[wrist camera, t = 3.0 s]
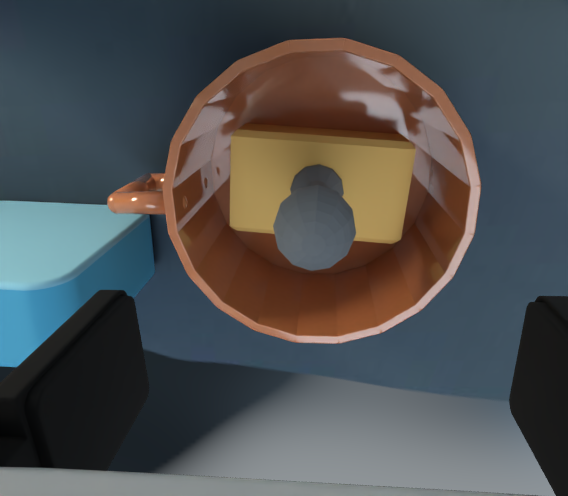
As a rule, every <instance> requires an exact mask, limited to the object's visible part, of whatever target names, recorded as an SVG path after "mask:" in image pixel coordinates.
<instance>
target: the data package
mask: <svg viewBox="0 0 568 496" xmlns="http://www.w3.org/2000/svg"><path fill="white" fill-rule="evenodd" d="M154 273H155V265H154V255H153V245H152V235H151V225H150V215H149V214H115V213H113V212H111V211H110V209H109V208H108V206H107V205H97V204H74V203H50V202H27V201H0V366H4V367H18V366H19V365H20V364H21V363H22V362H23V361H24V360H25V359H26V358H27V357H28V356H29V355H30V354H31V353H32V352H34V351H35V350H36V349H37V348H38V347H39V346H40V345H41V344H42V343H43V342H44V341H45V340H46V339H47V338H48V337H50V336H51V335H52V334H53V333H54V332H55V331H56V330H57V329H58V328H59V327H60V326H61V325H62V324H63V323H64V322H66V321H67V320H68V319H69V318H70V317H71V316H72V315H73V314H74V313H75V312H76V311H77V310H78V309H79V308H80V307H82V306H83V305H84V304H85V303H86V302H87V301H88V300H89V299H90V298H91V297H92V296H93V295H94V294H95V293H96V292H98V291H99V290H124V291H125V292H126V293H127V295H128V296H132V297H133V299H134V298H135V296H136V295H137V294H138V293H139V292H140V290H141V289H142V288H143V287H144V286H145V284H146V283H147V282H148V281H149V280H150V279H151V277H152V276H153V275H154Z"/></svg>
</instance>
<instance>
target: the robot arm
mask: <svg viewBox="0 0 568 496" xmlns="http://www.w3.org/2000/svg"><path fill="white" fill-rule="evenodd" d="M148 393H149V382H148V377H147V370H146V365H145V359H144V353H143V348H142V342H141V336H140V330H139V325H138V319H137V313H136V308H135V302H134V299H133V297H132V296H128V295H127V293H126V292H125V291H124V290H99V291H98V292H96V293H95V294H94V295H93V296H92V297H91V298H90V299H89V300H88V301H87V302H86V303H85V304H84V305H83V306H82V307H80V308H79V309H78V310H77V311H76V312H75V313H74V314H73V315H72V316H71V317H70V318H69V319H68V320H67V321H66V322H64V323H63V324H62V325H61V326H60V327H59V328H58V329H57V330H56V331H55V332H54V333H53V334H52V335H51V336H50V337H48V338H47V339H46V340H45V341H44V342H43V343H42V344H41V345H40V346H39V347H38V348H37V349H36V350H35V351H34V352H32V353H31V354H30V355H29V356H28V357H27V358H26V359H25V360H24V361H23V362H22V363H21V364H20V365H19V366H18V367H17V368H16V369H14V371H12V372H11V373H10V374H9V375H8V376H7V377H6V378H5V379H4V380H3V381H2V382H1V383H0V496H536V495H519V494H504V493H488V492H472V491H456V490H438V489H420V488H402V487H385V486H367V485H350V484H349V485H348V484H332V483H314V482H296V481H280V480H262V479H244V478H227V477H226V478H225V477H210V476H193V475H175V474H154V473H136V472H116V471H107V469H108V468H109V466H110V464H111V462H112V460H113V459H114V457H115V455H116V453H117V452H118V450H119V448H120V446H121V444H122V443H123V441H124V439H125V437H126V435H127V434H128V432H129V430H130V428H131V427H132V425H133V423H134V421H135V419H136V418H137V416H138V414H139V412H140V410H141V409H142V407H143V405H144V403H145V401H146V399H147V397H148ZM509 403H510V409H511V413H512V415H513V417H514V419H515V421H516V423H517V424H518V426H519V428H520V430H521V432H522V434H523V435H524V437H525V439H526V441H527V443H528V444H529V447H530V448H531V450H532V452H533V453H534V456H535V458H536V459H537V461H538V463H539V465H540V467H541V469H542V471H543V472H544V474H545V476H546V478H547V480H548V482H549V484H550V485H551V487H552V489H553V491H554V493H555V495H556V496H568V296H539V297H537V299H536V300H535V302H530V303H529V304H528V306H527V309H526V314H525V319H524V324H523V329H522V335H521V340H520V345H519V350H518V356H517V361H516V366H515V372H514V377H513V382H512V387H511V393H510V399H509Z"/></svg>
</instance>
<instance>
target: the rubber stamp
mask: <svg viewBox="0 0 568 496" xmlns="http://www.w3.org/2000/svg"><path fill="white" fill-rule="evenodd" d="M415 153H416V148H415V147H414V146H413V144H412V143H411V142H410V141H409V140H408V139H407V138H405V137H404V136H403V135H402V134H390V133H376V132H362V131H348V130H334V129H320V128H306V127H292V126H279V125H265V124H251V123H246V124H244V125H243V126H241V127H240V128H238V129H237V130H236V131H235V132H234V133H233V134H232V135H231V159H230V226H231V227H232V228H233V229H235V230H238V231H248V232H259V233H271V234H275V238H276V242H277V247H278V249H279V250H280V252H281V253H282V254H283V255H284V256H285V257H286V258H287V259H288V260H289V261H290V262H291V263H292V264H293V265H295V266H298V267H301V268H304V269H307V270H310V271H313V270H320V269H327V268H330V267H332V266H333V265H334V264H336V263H337V262H338V261H340V260H341V259H342V258H344V257H345V256H346V255H347V254H348V252H349V250H350V247H351V245H352V243H353V241H365V242H376V243H388V244H393V243H395V242H397V241H399V240H401V236H402V230H403V224H404V218H405V212H406V206H407V200H408V195H409V189H410V183H411V177H412V171H413V165H414V159H415Z"/></svg>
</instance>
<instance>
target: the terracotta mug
mask: <svg viewBox="0 0 568 496" xmlns="http://www.w3.org/2000/svg"><path fill="white" fill-rule="evenodd" d="M246 123H251V124H265V125H279V126H292V127H306V128H320V129H334V130H348V131H362V132H376V133H390V134H402V135H403V136H404V137H405V138H407V139H408V140H409V141H410V142H411V143H412V144H413V146H414V147H415V148H416V153H415V159H414V165H413V171H412V177H411V183H410V189H409V195H408V200H407V206H406V212H405V218H404V224H403V230H402V236H401V240H399V241H397V242H395V243H393V244H388V243H376V242H365V241H353V243H352V245H351V247H350V250H349V252H348V254H347V255H346V256H345V257H344V258H342V259H341V260H340V261H338V262H337V263H336V264H334V265H333V266H332V267H330V268H327V269H320V270H313V271H310V270H307V269H304V268H301V267H298V266H295V265H293V264H292V263H291V262H290V261H289V260H288V259H287V258H286V257H285V256H284V255H283V254H282V253H281V252H280V250H279V249H278V247H277V242H276V238H275V234H271V233H259V232H248V231H238V230H235V229H233V228H232V227H231V226H230V159H231V135H232V134H233V133H234V132H235V131H236V130H237V129H238V128H240V127H241V126H243V125H244V124H246ZM480 193H481V180H480V175H479V170H478V165H477V160H476V155H475V151H474V146H473V141H472V136H471V134H470V132H469V130H468V129H467V127H466V125H465V124H464V122H463V121H462V119H461V117H460V116H459V114H458V113H457V111H456V109H455V108H454V106H453V104H452V103H451V101H450V100H449V98H448V96H447V95H446V93H445V91H444V90H442V88H441V87H440V86H438V85H437V84H436V83H435V82H433V81H432V80H431V79H429V78H428V77H427V76H426V75H424V74H423V73H422V72H420V71H419V70H418V69H417V68H415V67H414V66H413V65H411V64H410V63H409V62H408V61H406V60H405V59H404V58H402V57H401V56H399V55H398V54H395V53H392V52H388V51H385V50H382V49H379V48H376V47H373V46H370V45H367V44H363V43H360V42H357V41H354V40H351V39H348V38H322V39H297V40H286V41H284V42H281V43H279V44H276V45H274V46H271V47H269V48H266V49H264V50H261V51H259V52H256V53H254V54H252V55H249V56H247V57H244V58H242V59H239V60H237V61H235V62H234V63H233V64H232V65H231V66H230V67H228V68H227V69H226V70H225V71H224V72H223V73H222V74H220V75H219V76H218V77H217V78H216V79H215V80H214V81H213V82H211V83H210V84H209V85H208V86H207V87H206V88H205V89H203V90H202V91H201V92H200V93H199V94H198V95H197V97H195V99H194V101H193V102H192V104H191V106H190V108H189V110H188V111H187V113H186V115H185V117H184V118H183V120H182V122H181V124H180V125H179V127H178V129H177V131H176V133H175V134H174V136H173V138H172V141H171V144H170V149H169V154H168V160H167V165H166V170H165V173H147V174H145V175H143V176H141V177H140V178H138V179H136V180H134V181H133V182H131V183H129V184H127V185H126V186H124V187H122V188H120V189H119V190H117V191H115V192H113V193H112V194H111V195H110V196H109V197H108V199H107V206H108V208H109V209H110V211H111V212H113V213H115V214H166V220H167V228H168V234H169V236H170V238H171V241H172V243H173V245H174V247H175V249H176V251H177V253H178V255H179V258H180V260H181V262H182V264H183V266H184V268H185V270H186V272H187V274H188V276H189V277H190V278H191V279H192V280H193V281H194V283H195V284H196V285H197V286H198V287H199V288H200V289H201V290H202V291H203V293H204V294H205V295H206V296H207V297H208V298H209V299H210V300H211V301H212V303H213V304H214V305H215V306H216V307H217V308H219V309H220V310H222V311H224V312H225V313H227V314H228V315H230V316H232V317H233V318H235V319H236V320H238V321H240V322H241V323H243V324H244V325H246V326H247V327H249V328H251V329H252V330H254V331H257V332H261V333H264V334H268V335H271V336H274V337H278V338H281V339H284V340H288V341H291V342H296V343H327V344H339V343H344V342H348V341H352V340H356V339H360V338H364V337H368V336H372V335H376V334H380V333H383V332H385V331H387V330H388V329H390V328H392V327H394V326H395V325H397V324H399V323H401V322H402V321H404V320H406V319H408V318H409V317H411V316H413V315H415V314H416V313H418V312H420V311H421V310H423V308H424V307H425V306H426V305H427V304H428V303H429V302H430V301H431V300H432V299H433V298H434V297H435V296H436V295H437V294H438V293H439V292H440V291H441V290H442V289H443V288H444V287H445V286H446V285H447V283H448V282H449V281H450V280H451V279H452V278H453V277H454V275H455V273H456V271H457V269H458V267H459V265H460V263H461V261H462V259H463V257H464V255H465V253H466V251H467V249H468V247H469V245H470V243H471V241H472V239H473V237H474V234H475V229H476V222H477V215H478V208H479V200H480Z"/></svg>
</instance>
